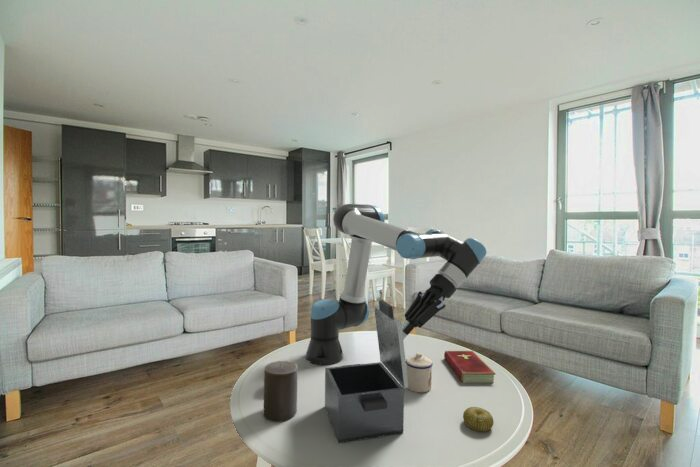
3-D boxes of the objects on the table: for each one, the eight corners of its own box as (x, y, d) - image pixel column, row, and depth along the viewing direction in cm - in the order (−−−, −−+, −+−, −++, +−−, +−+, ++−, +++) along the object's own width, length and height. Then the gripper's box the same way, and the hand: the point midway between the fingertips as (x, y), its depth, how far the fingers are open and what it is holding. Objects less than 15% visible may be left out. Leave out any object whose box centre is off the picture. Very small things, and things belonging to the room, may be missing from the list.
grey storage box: (323, 401, 107) (323, 363, 107) (376, 394, 112) (377, 358, 112) (341, 451, 84) (341, 403, 84) (408, 439, 89) (408, 394, 88)
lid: (372, 296, 107) (376, 296, 108) (380, 361, 109) (384, 360, 109) (395, 312, 90) (399, 311, 90) (404, 388, 91) (408, 387, 91)
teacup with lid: (435, 393, 113) (435, 358, 113) (407, 393, 113) (408, 358, 113) (426, 376, 125) (427, 345, 125) (401, 376, 125) (402, 345, 125)
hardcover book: (461, 384, 121) (462, 372, 121) (444, 360, 142) (444, 350, 142) (495, 384, 121) (495, 372, 121) (472, 360, 142) (472, 350, 142)
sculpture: (469, 420, 91) (459, 404, 99) (469, 434, 92) (458, 417, 100) (498, 420, 92) (486, 404, 100) (498, 434, 92) (486, 417, 100)
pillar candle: (268, 425, 94) (269, 372, 94) (260, 408, 103) (261, 359, 102) (301, 417, 99) (302, 366, 98) (291, 401, 107) (292, 354, 107)
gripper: (467, 293, 98) (413, 357, 94) (442, 285, 110) (394, 340, 107) (451, 276, 96) (396, 339, 92) (428, 269, 109) (379, 325, 105)
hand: (395, 340), depth 99 cm, fingers closed
